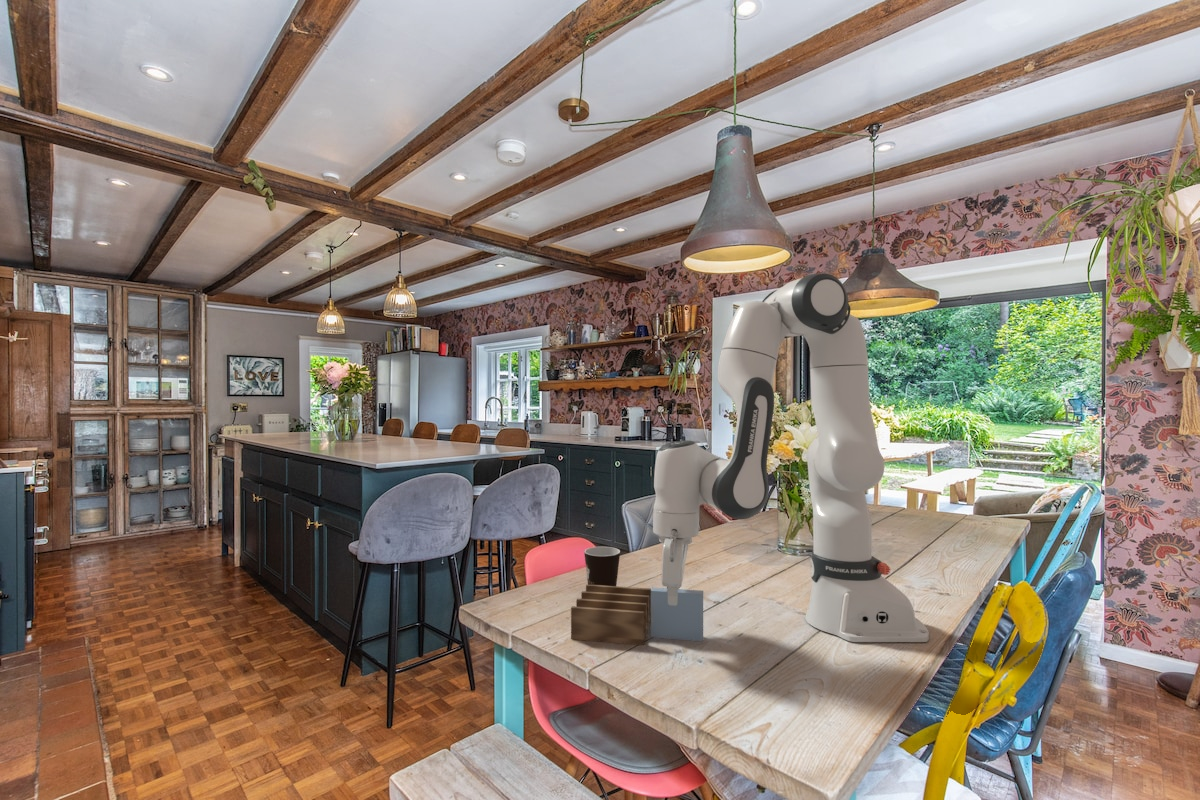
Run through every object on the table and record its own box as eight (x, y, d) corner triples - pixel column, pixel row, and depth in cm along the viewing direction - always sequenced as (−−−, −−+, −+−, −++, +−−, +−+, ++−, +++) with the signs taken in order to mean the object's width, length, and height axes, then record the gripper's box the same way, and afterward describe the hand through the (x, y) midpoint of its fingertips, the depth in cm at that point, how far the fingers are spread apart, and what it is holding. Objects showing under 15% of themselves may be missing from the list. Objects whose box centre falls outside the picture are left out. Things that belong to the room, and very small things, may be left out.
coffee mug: (616, 600, 127) (616, 557, 127) (580, 598, 129) (580, 555, 129) (624, 584, 139) (624, 544, 139) (591, 582, 140) (591, 542, 141)
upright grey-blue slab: (703, 637, 108) (703, 590, 108) (703, 641, 106) (703, 594, 106) (652, 632, 110) (651, 587, 110) (650, 637, 108) (650, 590, 108)
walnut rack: (651, 616, 118) (651, 588, 118) (643, 645, 104) (643, 613, 104) (586, 612, 120) (586, 584, 120) (571, 638, 107) (571, 607, 107)
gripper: (690, 538, 97) (688, 617, 97) (693, 515, 117) (692, 580, 117) (654, 535, 98) (652, 613, 98) (663, 513, 118) (662, 578, 118)
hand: (674, 595), depth 108 cm, fingers open, 8 cm apart
